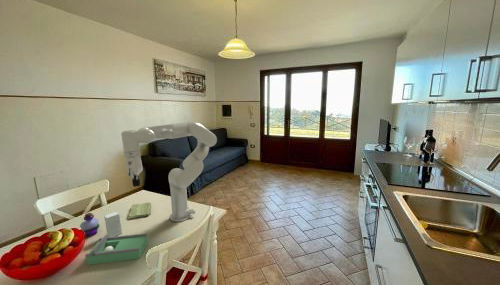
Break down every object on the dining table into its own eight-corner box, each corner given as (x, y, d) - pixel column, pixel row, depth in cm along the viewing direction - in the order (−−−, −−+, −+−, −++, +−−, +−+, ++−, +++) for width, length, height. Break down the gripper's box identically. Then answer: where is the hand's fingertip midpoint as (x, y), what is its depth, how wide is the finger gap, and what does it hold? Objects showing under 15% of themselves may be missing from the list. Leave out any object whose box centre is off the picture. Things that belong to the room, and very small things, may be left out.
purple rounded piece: (102, 233, 115) (99, 214, 113) (82, 240, 109) (79, 220, 107) (99, 227, 121) (96, 208, 119) (80, 233, 115) (77, 213, 113)
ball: (111, 253, 100) (117, 247, 100) (107, 258, 96) (112, 252, 96) (105, 248, 100) (110, 242, 100) (99, 253, 96) (105, 247, 96)
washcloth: (127, 221, 128) (126, 216, 128) (131, 208, 144) (131, 203, 144) (150, 216, 133) (150, 212, 132) (152, 204, 149) (152, 200, 149)
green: (147, 241, 108) (146, 230, 107) (139, 258, 96) (138, 246, 95) (101, 247, 104) (99, 235, 103) (86, 264, 92) (84, 252, 91)
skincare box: (119, 230, 118) (116, 211, 116) (122, 233, 115) (119, 213, 113) (106, 235, 113) (104, 215, 111) (109, 238, 110) (106, 218, 108)
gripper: (135, 156, 104) (139, 190, 107) (144, 149, 118) (147, 180, 122) (118, 157, 102) (124, 192, 106) (129, 150, 117) (134, 181, 120)
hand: (136, 185), depth 114 cm, fingers closed
